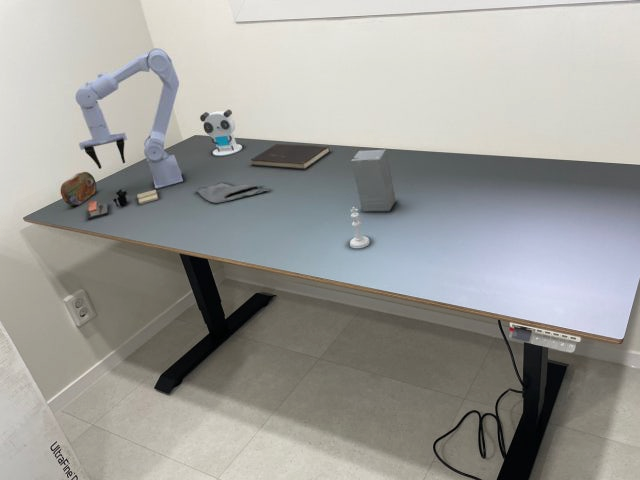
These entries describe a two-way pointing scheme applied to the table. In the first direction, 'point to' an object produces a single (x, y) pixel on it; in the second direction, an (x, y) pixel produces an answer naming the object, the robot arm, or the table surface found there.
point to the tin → (78, 188)
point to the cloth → (228, 192)
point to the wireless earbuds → (121, 198)
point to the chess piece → (358, 233)
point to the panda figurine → (221, 132)
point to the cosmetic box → (373, 180)
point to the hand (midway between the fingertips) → (112, 165)
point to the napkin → (147, 196)
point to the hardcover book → (290, 156)
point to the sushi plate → (97, 210)
